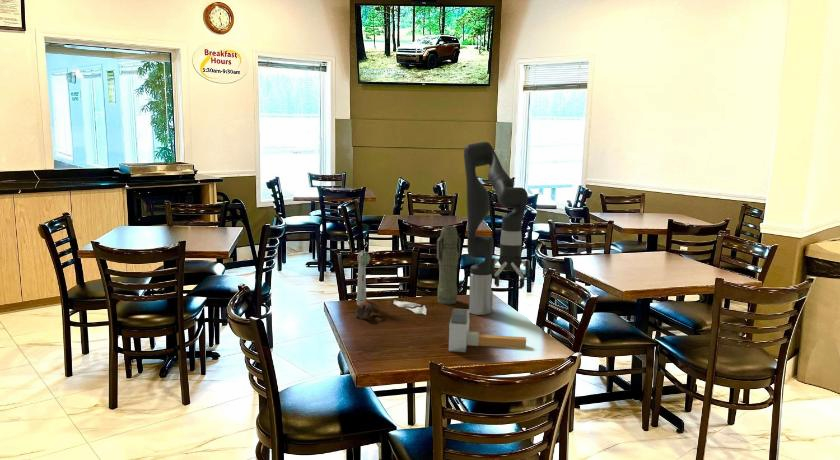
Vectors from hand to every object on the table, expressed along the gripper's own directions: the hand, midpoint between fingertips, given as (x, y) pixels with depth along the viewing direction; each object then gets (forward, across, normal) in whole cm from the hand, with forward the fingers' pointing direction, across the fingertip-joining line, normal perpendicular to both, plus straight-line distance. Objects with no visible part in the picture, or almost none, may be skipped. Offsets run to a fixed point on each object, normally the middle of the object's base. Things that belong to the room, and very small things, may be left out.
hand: (509, 287), depth 228 cm
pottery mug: (+22, +61, -10) cm, 66 cm away
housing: (+21, +16, +6) cm, 27 cm away
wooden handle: (+21, +4, +3) cm, 22 cm away
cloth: (+21, +49, -33) cm, 63 cm away
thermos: (+20, +37, -48) cm, 64 cm away
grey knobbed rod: (+20, +70, -27) cm, 77 cm away
